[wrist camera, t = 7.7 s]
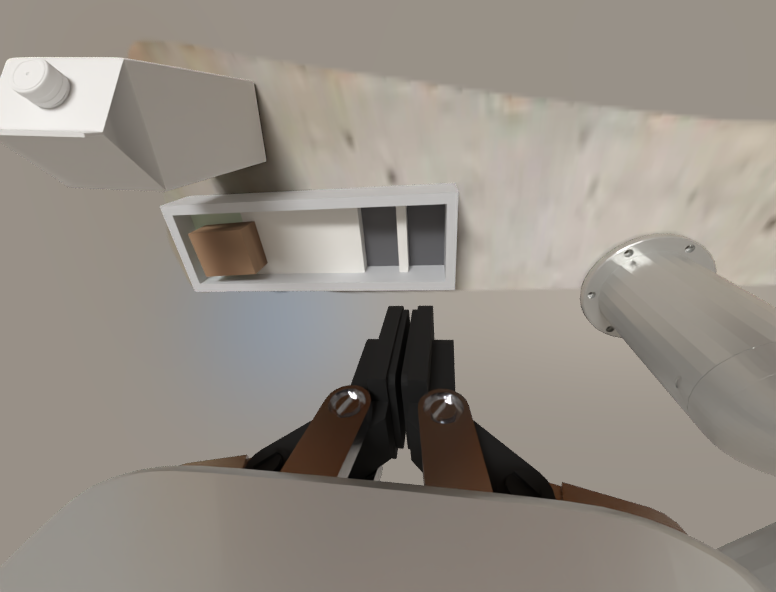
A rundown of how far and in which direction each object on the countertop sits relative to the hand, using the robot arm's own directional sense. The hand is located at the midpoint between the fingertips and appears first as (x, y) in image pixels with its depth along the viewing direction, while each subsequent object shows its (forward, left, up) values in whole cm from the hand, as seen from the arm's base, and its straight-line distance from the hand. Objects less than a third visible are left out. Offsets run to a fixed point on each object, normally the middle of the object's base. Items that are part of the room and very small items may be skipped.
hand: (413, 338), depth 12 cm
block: (+9, +20, -23) cm, 31 cm away
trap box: (+3, +12, -25) cm, 28 cm away
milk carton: (+18, +12, -25) cm, 33 cm away
